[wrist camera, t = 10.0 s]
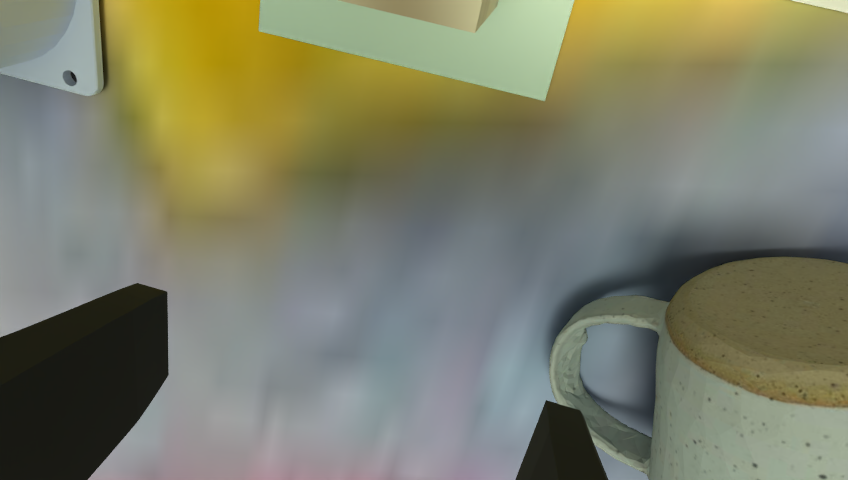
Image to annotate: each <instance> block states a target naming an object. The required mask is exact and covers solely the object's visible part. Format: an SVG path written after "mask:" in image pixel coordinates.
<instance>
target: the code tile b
mask: <svg viewBox="0 0 848 480" xmlns="http://www.w3.org/2000/svg"><path fill="white" fill-rule="evenodd" d="M792 1H796V2H801V3H805V4H810V5H814V6H819V7H823V8H828V9H832V10H837V11H841V12H845V13H848V0H792Z"/></svg>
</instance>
